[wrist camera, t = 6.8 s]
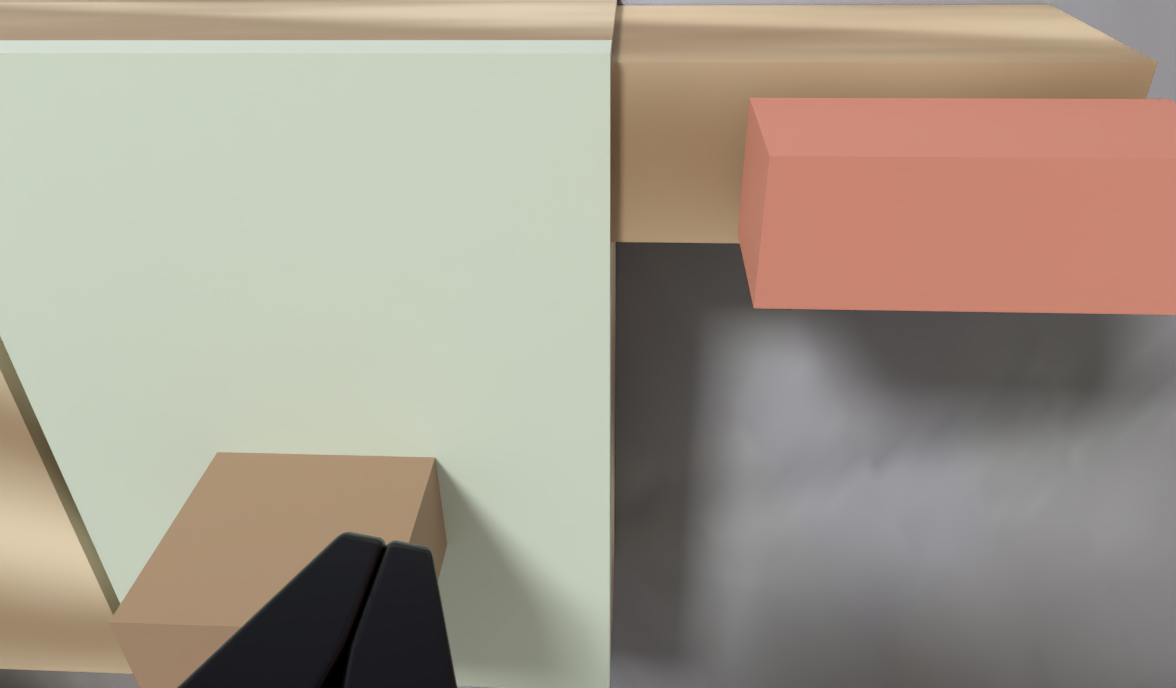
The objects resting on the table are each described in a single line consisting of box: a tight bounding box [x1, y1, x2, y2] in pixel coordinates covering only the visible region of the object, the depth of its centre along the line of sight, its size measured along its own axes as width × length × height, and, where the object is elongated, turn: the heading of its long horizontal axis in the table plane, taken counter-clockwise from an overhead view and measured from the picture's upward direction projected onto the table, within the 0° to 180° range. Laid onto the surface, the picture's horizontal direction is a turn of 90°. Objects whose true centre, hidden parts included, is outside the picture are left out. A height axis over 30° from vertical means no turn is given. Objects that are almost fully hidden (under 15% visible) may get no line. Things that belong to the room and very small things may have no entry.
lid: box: [0, 40, 612, 688], centre depth 16 cm, size 15×11×6 cm
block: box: [738, 98, 1176, 315], centre depth 12 cm, size 2×6×2 cm, turn 91°
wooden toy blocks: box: [0, 0, 1158, 674], centre depth 19 cm, size 15×24×4 cm, turn 91°
